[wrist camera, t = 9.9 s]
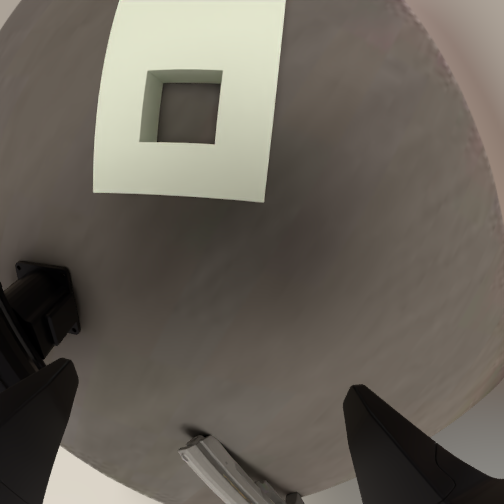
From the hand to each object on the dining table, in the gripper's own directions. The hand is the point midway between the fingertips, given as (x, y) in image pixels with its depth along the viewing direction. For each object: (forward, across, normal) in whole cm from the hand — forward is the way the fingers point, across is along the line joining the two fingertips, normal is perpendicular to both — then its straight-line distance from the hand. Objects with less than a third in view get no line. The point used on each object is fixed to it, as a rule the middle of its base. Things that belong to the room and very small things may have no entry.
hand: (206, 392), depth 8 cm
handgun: (+14, -6, +34) cm, 38 cm away
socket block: (+13, +3, -14) cm, 19 cm away
